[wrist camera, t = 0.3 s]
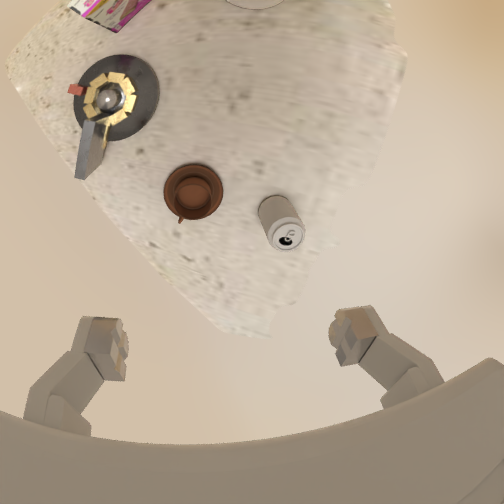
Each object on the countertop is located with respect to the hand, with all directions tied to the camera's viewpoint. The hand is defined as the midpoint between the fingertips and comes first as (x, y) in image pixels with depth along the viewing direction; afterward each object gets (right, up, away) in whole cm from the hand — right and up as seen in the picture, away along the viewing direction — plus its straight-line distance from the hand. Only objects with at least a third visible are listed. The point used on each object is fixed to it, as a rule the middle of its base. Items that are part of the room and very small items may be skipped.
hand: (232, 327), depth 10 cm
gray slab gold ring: (-26, +27, +30) cm, 48 cm away
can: (+6, +12, +50) cm, 52 cm away
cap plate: (-25, +31, +30) cm, 50 cm away
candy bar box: (-21, +47, +20) cm, 55 cm away
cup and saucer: (-11, +16, +45) cm, 49 cm away
